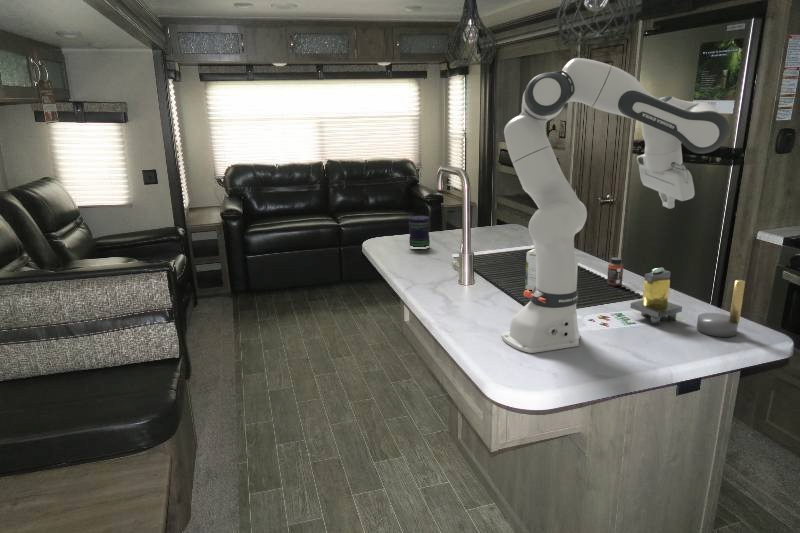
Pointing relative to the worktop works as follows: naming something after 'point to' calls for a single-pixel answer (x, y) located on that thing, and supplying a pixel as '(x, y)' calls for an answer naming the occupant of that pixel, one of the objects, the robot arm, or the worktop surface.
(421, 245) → the storage jar
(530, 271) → the syrup box
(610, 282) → the supplement bottle
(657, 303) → the stand
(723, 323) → the footscrew knob
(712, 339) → the worktop surface
